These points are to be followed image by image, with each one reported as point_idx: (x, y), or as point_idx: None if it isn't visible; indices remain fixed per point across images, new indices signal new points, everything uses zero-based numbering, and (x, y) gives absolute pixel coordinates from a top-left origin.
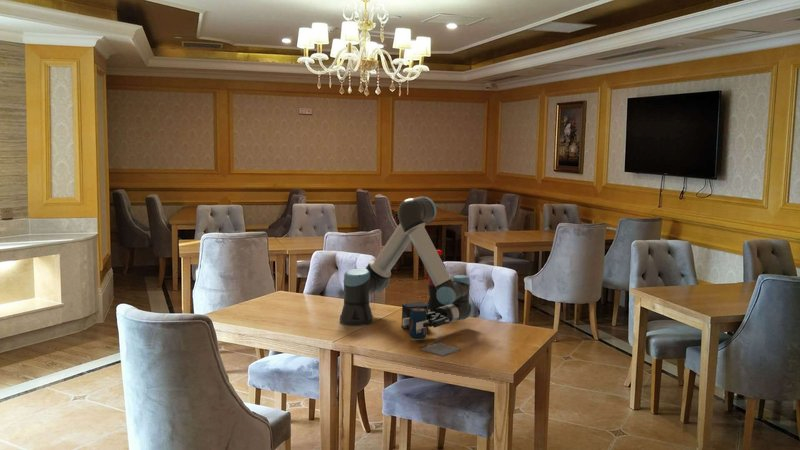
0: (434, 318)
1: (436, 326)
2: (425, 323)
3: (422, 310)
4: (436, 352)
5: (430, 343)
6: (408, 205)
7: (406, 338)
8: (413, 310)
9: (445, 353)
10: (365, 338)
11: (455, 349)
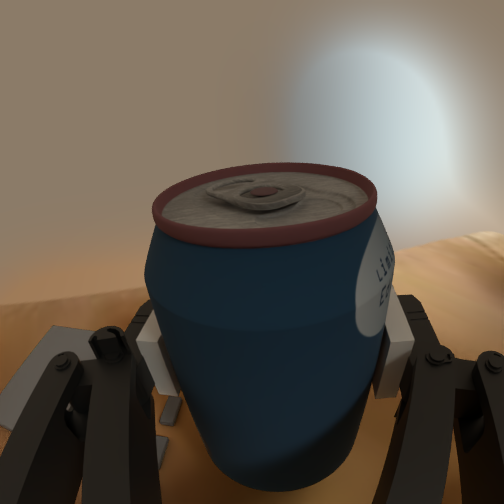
0: (95, 473)
1: (71, 410)
2: (149, 308)
3: (199, 208)
4: (80, 335)
5: (158, 444)
6: None
7: (390, 439)
8: (277, 165)
9: (44, 342)
10: (481, 298)
11: (5, 401)
